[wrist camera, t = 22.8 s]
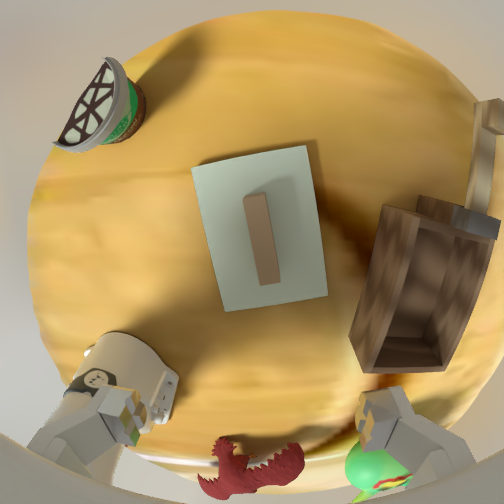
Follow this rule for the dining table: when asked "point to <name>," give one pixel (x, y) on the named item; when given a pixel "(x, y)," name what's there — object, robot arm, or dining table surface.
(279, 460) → the red toy dinosaur
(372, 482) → the toy bird
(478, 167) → the wooden key
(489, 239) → the toolbox
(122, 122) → the food container
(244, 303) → the toolbox lid
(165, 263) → the dining table surface
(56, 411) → the robot arm
